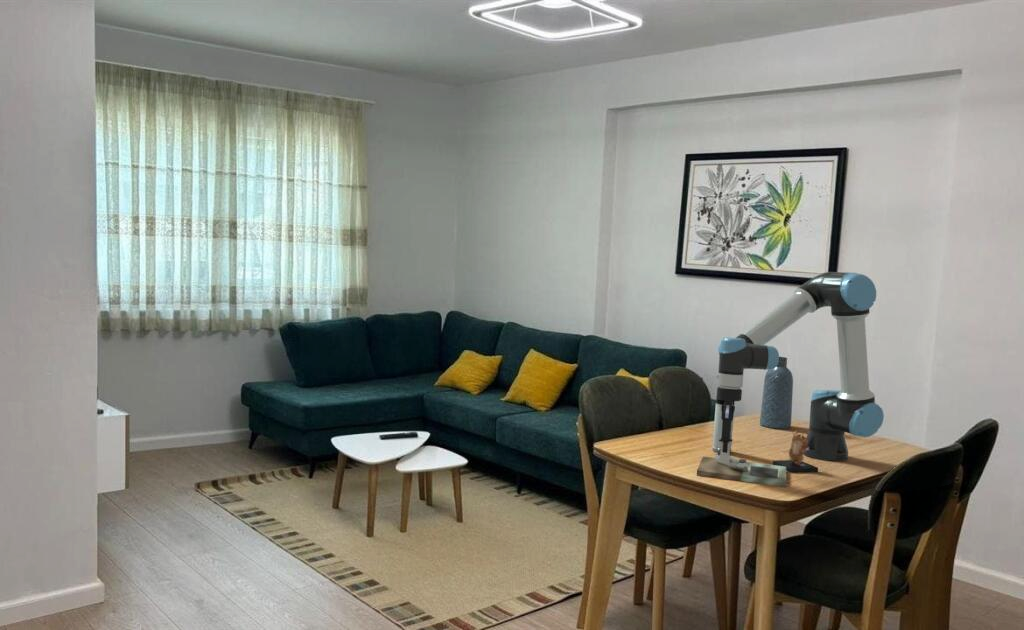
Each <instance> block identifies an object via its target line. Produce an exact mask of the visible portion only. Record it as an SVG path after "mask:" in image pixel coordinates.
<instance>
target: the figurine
mask: <svg viewBox="0 0 1024 630" xmlns="http://www.w3.org/2000/svg"><path fill="white" fill-rule="evenodd" d="M806 437H807V436H804V433H798V431H797V430H795V431H794V432H792V437H791V444H790V448H789V451H788V455H789V457H788V458H789V459H782V460H781V459H778V460H772V463H771V465H776V466H785V467H786V472H788V473H790V474H798V473H799V474H800V473H801V474H803V473H807V474H808V473H818V472H819V467H817V466H815V465H813V464H810V463H807V462H805V461H804V454H803V453H804V452H806V450H809V449H808V448H809V447H808V448H806V449H805V447H807V446H808V443H807V442H808V441H807V439H806ZM803 449H805V450H803Z"/></svg>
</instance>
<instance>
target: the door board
mask: <svg viewBox="0 0 1024 630" xmlns="http://www.w3.org/2000/svg"><path fill="white" fill-rule="evenodd" d="M748 462H749V466H748V471H739V470H736V469H735V468H732V467H729V466H727V465H724V464H721V463H718V462H716V461H715V457H709V456H702V458H701V460H700V463H699V465H698V467H697V469H696V476H698V477H707V478H715V479H723V480H729V481H738V482H739V481H740V482H745V483H754V484H760V485H768V486H775V487H777V486H778V487H782V488H786V487H787V471H786V467H785V466H776V465H772V464H767V463H760V462H751V461H748Z"/></svg>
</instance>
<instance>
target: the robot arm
mask: <svg viewBox="0 0 1024 630" xmlns="http://www.w3.org/2000/svg"><path fill="white" fill-rule="evenodd" d="M875 285H876V284H875V283H874V282H873V280H872V279H871V278H870V277H868V276H867V275H865V274H862V273H856V272H838V271H837V272H836V271H826V272H823V273H821V274H818V275H815V276H814V277H812V278H810V279H809V280H808V281H806V282H804V283H802V284H801V285H800V286H798V287H797V288H796V289H794V291H793V295H792V296H790V297H789V298H788V299H786V300H785V301H783V302H782V303H781V304H780V305H778V306H777V307H775V308H774V309H773V310H772V311H770V312H769V313H767V314H766V315H765V316H763V317H762V318H760V319H759V320H758V321H756V322H755V323H754V324H751V326H750V327H748V328H747V329H746V330H744V331H743V332H741V333H740V334H738V335H737V336H736V337H723V338H721V340H720V343H719V345H718V348H717V349H718V351H717V352H718V355H719V356H718V358H719V359H718V375H716V376H715V378H716V379H717V385H718V386H717V388H716V397H717V399H720V400H724V401H725V402H724V405H722V407H721V411H722V420H723V422H722V437H721V439H719V441H720V442H721V450H720V462H722V463H729V456H730V453H729V451H730V441H731V442H732V443H733V438H732V439H730V437H731V423H732V420H733V421H734V417H733V415H734V414H735V409H736V406H735V405H734V406H733V405H732V404H733V401H735V402H741V401H742V397H743V396H742V395H743V390H742V389H741V388H743V383H744V371H745V369H746V370H747V369H749V370H764V371H766V370H768V369H774V368H775V367H776V366H777V365H778V362H779V357H780V355H779V351H778V349H777V348H776V347H775V346H773V345H766V344H768V343H770V341H771V340H773V339H775V338H776V337H778V335H780V334H781V333H782V332H784V331H785V330H787V329H788V328H789V327H791V326H792V325H794V324H795V323H796V322H797V321H799V320H800V319H801V318H802V317H804V316H806V315H807V314H808V313H811V314H813V313H815V312H817V310H819V309H821V308H825V307H830V313H831V317H833V318H834V319H835V320H836V328H837V343H838V345H837V346H838V347H837V348H838V358H839V359H838V360H839V372H840V373H839V375H840V388H841V389H840V390H835V389H834V390H833V389H832V390H829V389H827V390H825V389H822V390H821V389H820V390H818V389H817V390H814V391H813V392H812V393H811V400H810V411H809V412H810V413H809V428H808V433H807V436H805V437H806V439H807V441H808V442H807V443H808V446H807V447H805V449H806V448H808V447H809V448H808V449H809V450H806V452H804V453H803V456H807V457H810V458H812V459H818V460H822V461H823V460H825V461H833V462H834V461H837V462H838V461H839V462H840V461H841V462H842V461H846V460H848V459H849V449H848V446H847V441H846V437H845V434H847V433H848V434H850V435H853V436H854V437H855V436H856V437H861V438H869V437H871V436H873V435H875V434H876V433H877V432H878V431H879V429H881V428H882V425H883V422H884V418H885V415H884V411H883V408H882V407H880V405H879V404H877V403H876V399H875V397H876V396H875V393H874V392H873V391H872V390H871V389H870V383H869V382H870V380H869V366H868V365H869V363H868V349H867V348H868V347H867V333H866V318H867V317H868V315H870V308H872V307H873V306H874V303H875V302H876V300H877V289H876V286H875ZM805 449H803V450H805Z"/></svg>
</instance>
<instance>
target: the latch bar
mask: <svg viewBox="0 0 1024 630" xmlns="http://www.w3.org/2000/svg"><path fill="white" fill-rule="evenodd" d="M720 450H721V448H718V452H716V453H715V456H714V458H715V461H716V462H718V463H721V464H724V465H727V466H729V467H732V468H735V469H736V470H739V471H748V466H749V462H750V461H747V459H743V458H740V459H739V458H736V457H733V456H730V455H729V463H722V462H720Z"/></svg>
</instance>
